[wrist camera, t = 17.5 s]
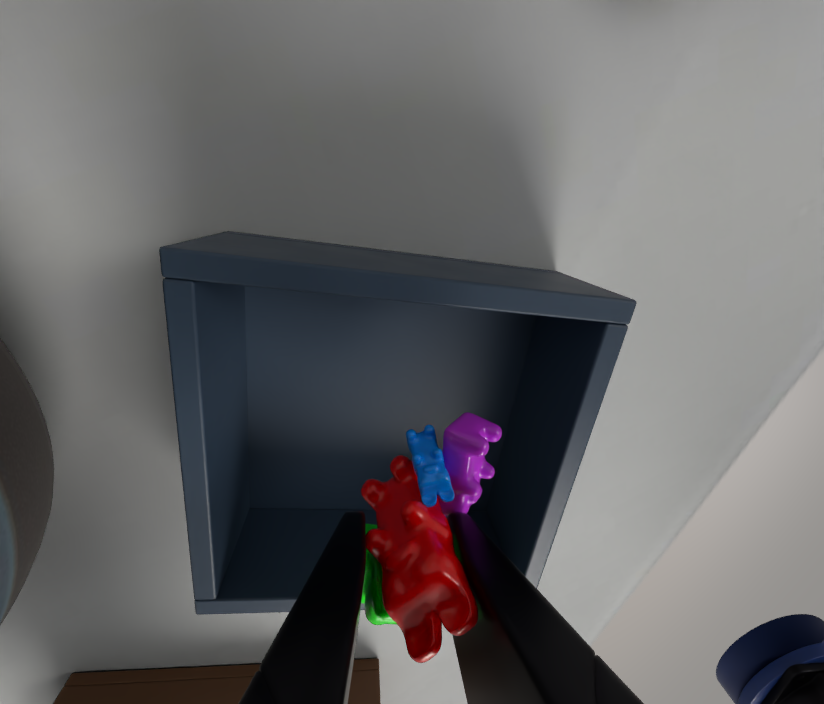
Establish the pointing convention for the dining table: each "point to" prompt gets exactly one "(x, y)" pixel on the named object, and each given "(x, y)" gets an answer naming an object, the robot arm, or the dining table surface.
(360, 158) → the dining table surface
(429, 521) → the gummy bear
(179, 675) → the tray
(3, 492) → the vase
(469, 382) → the bin
